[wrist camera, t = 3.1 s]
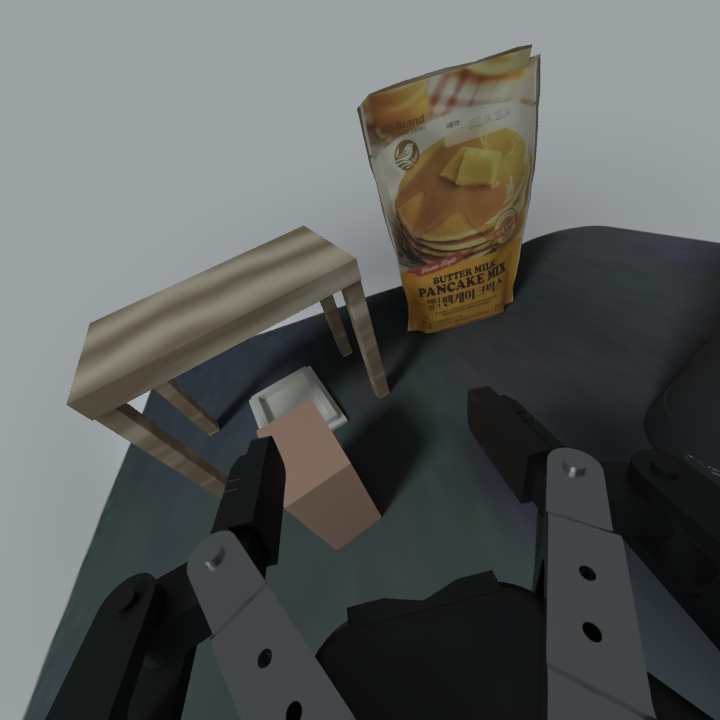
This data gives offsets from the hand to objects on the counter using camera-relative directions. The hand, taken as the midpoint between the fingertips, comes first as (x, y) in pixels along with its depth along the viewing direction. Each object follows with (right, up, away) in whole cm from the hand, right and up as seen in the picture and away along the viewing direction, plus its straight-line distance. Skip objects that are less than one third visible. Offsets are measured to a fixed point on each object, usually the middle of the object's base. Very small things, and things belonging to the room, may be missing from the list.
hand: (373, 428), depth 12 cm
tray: (-9, -4, +28) cm, 29 cm away
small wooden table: (-9, -4, +28) cm, 29 cm away
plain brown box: (-2, -12, +18) cm, 22 cm away
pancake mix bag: (+14, +10, +34) cm, 38 cm away
